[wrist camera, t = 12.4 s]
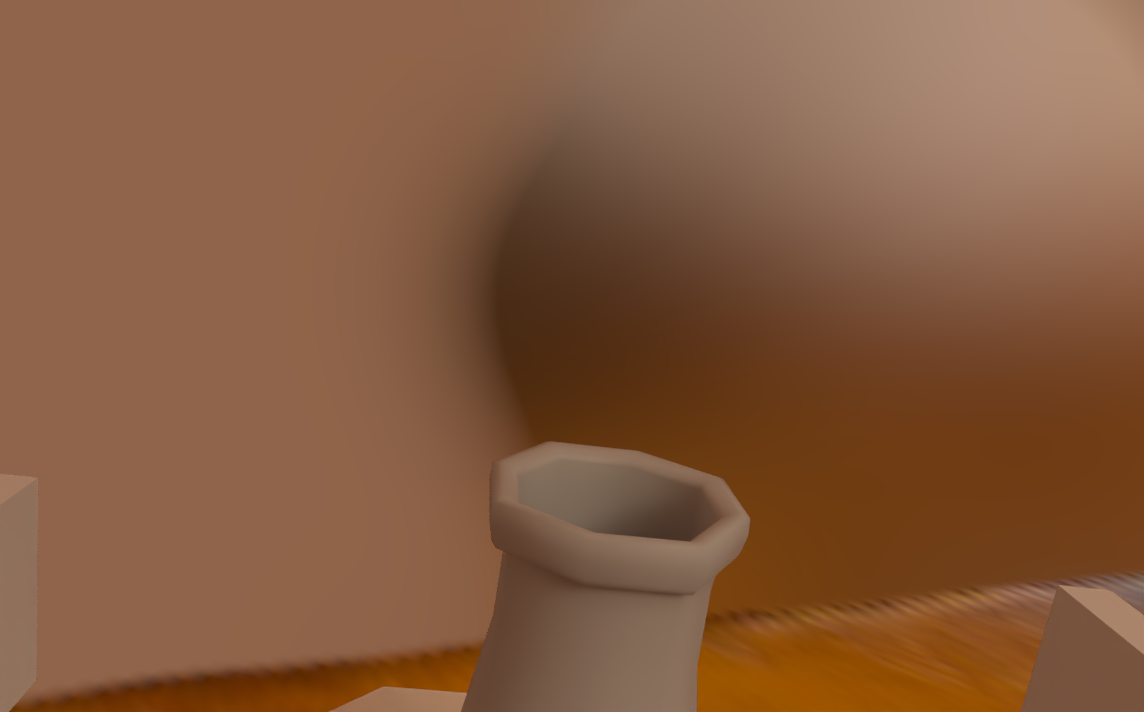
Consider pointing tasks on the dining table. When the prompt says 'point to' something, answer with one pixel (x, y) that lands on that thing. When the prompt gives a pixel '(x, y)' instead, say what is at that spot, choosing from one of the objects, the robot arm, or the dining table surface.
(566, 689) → the flask
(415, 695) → the bowl
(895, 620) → the dining table surface
